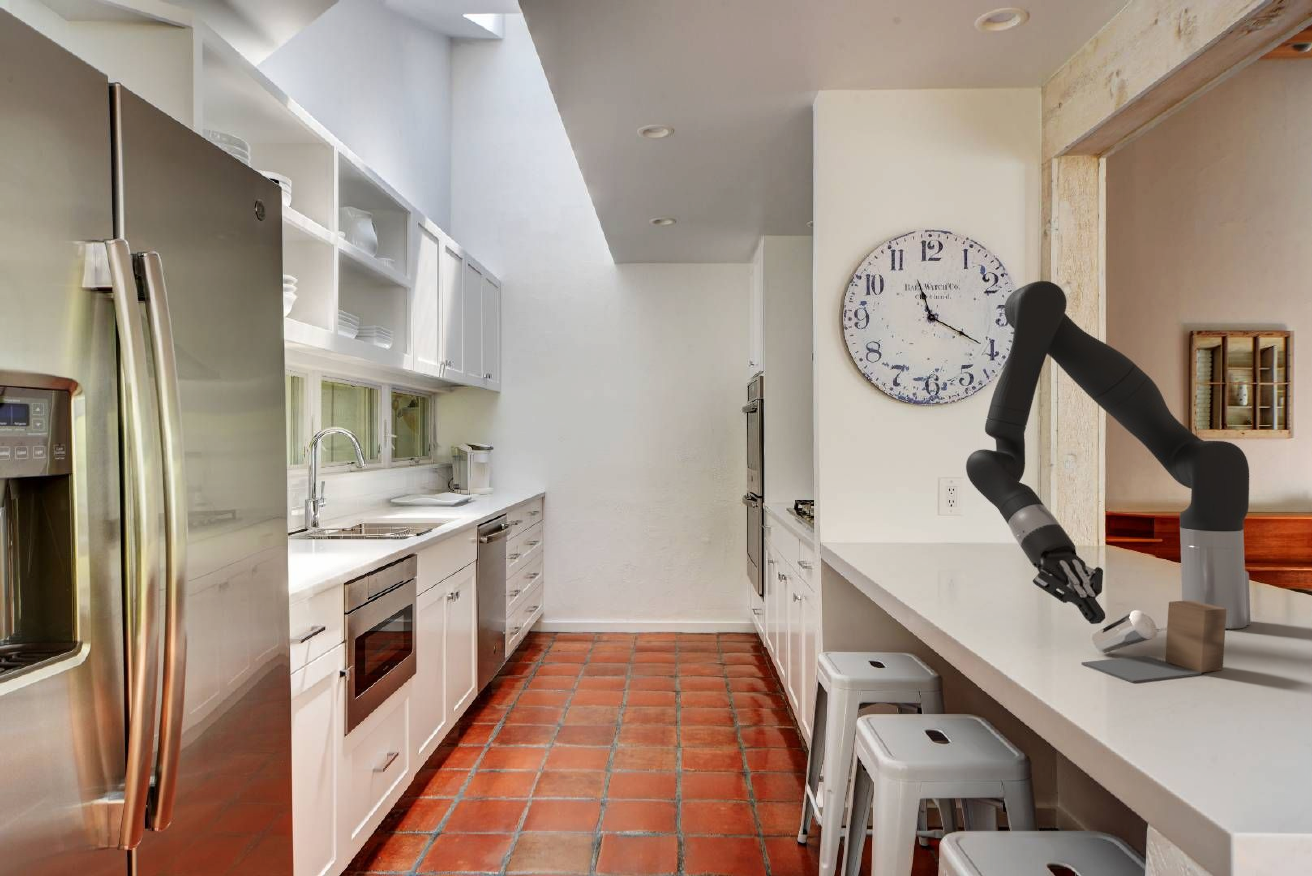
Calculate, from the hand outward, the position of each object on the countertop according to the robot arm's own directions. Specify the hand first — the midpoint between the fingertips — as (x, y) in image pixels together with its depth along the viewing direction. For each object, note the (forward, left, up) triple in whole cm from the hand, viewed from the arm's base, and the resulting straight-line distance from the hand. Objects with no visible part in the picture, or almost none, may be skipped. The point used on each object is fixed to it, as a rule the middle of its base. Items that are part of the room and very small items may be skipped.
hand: (1099, 621), depth 117 cm
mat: (+2, +9, -5) cm, 11 cm away
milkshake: (0, 0, -4) cm, 4 cm away
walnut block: (-6, +11, -5) cm, 13 cm away
